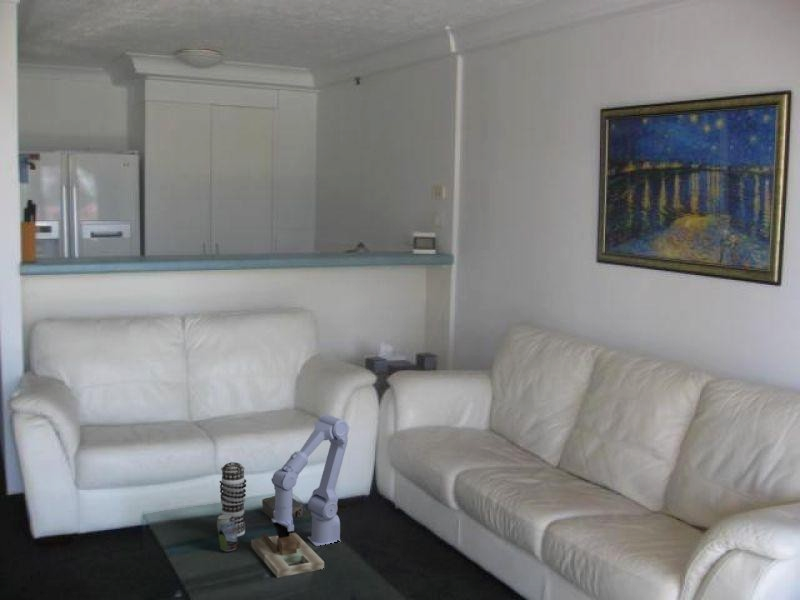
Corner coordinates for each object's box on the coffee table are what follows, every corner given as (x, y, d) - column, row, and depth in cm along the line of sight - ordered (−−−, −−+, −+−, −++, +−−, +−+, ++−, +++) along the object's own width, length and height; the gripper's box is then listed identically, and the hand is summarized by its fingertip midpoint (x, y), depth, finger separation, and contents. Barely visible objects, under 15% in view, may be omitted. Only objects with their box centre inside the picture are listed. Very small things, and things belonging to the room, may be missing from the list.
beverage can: (234, 554, 324) (234, 520, 322) (213, 551, 325) (213, 518, 323) (241, 546, 330) (241, 513, 328) (220, 544, 331) (220, 511, 329)
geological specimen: (277, 511, 350) (259, 496, 362) (277, 526, 351) (259, 511, 363) (303, 505, 355) (285, 490, 368) (303, 520, 357) (285, 505, 369)
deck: (295, 539, 337) (295, 527, 337) (324, 568, 315) (324, 556, 314) (251, 546, 330) (251, 534, 329) (277, 577, 307) (277, 564, 307)
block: (291, 547, 325) (291, 536, 324) (296, 553, 320) (296, 541, 320) (277, 549, 322) (277, 538, 322) (282, 555, 318) (282, 544, 317)
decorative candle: (243, 538, 337) (244, 469, 333) (217, 537, 337) (217, 468, 333) (248, 527, 346) (248, 460, 342) (222, 527, 346) (222, 459, 342)
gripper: (265, 499, 327) (264, 537, 329) (279, 514, 314) (279, 554, 316) (284, 496, 330) (284, 534, 332) (300, 511, 317) (299, 550, 320)
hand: (283, 543), depth 325 cm, fingers closed
